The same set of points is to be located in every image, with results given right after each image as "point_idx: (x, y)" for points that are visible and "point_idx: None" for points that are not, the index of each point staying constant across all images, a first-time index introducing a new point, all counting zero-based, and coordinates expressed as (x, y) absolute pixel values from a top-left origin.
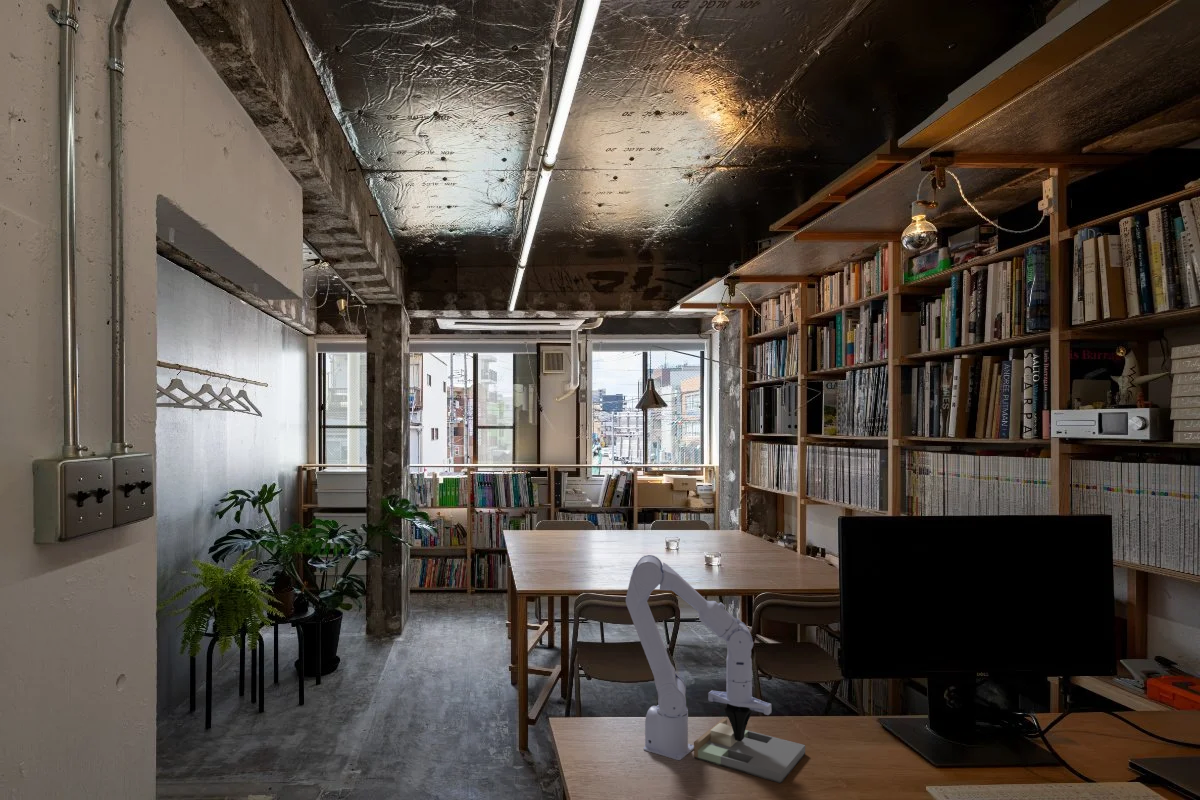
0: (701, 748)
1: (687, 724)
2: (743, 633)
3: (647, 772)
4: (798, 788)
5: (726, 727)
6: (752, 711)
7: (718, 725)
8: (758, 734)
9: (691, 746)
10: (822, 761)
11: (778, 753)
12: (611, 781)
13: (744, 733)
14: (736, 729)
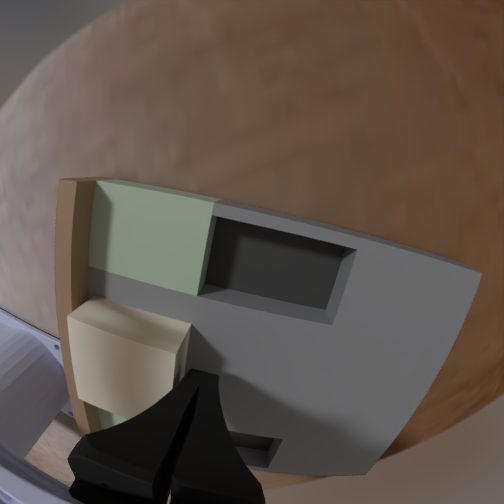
0: (103, 418)
1: (25, 427)
2: None
3: (69, 449)
4: (398, 448)
5: (115, 363)
6: (256, 482)
7: (77, 348)
8: (276, 228)
9: (61, 354)
10: (495, 287)
11: (377, 391)
12: (54, 465)
13: (218, 390)
14: (183, 444)
